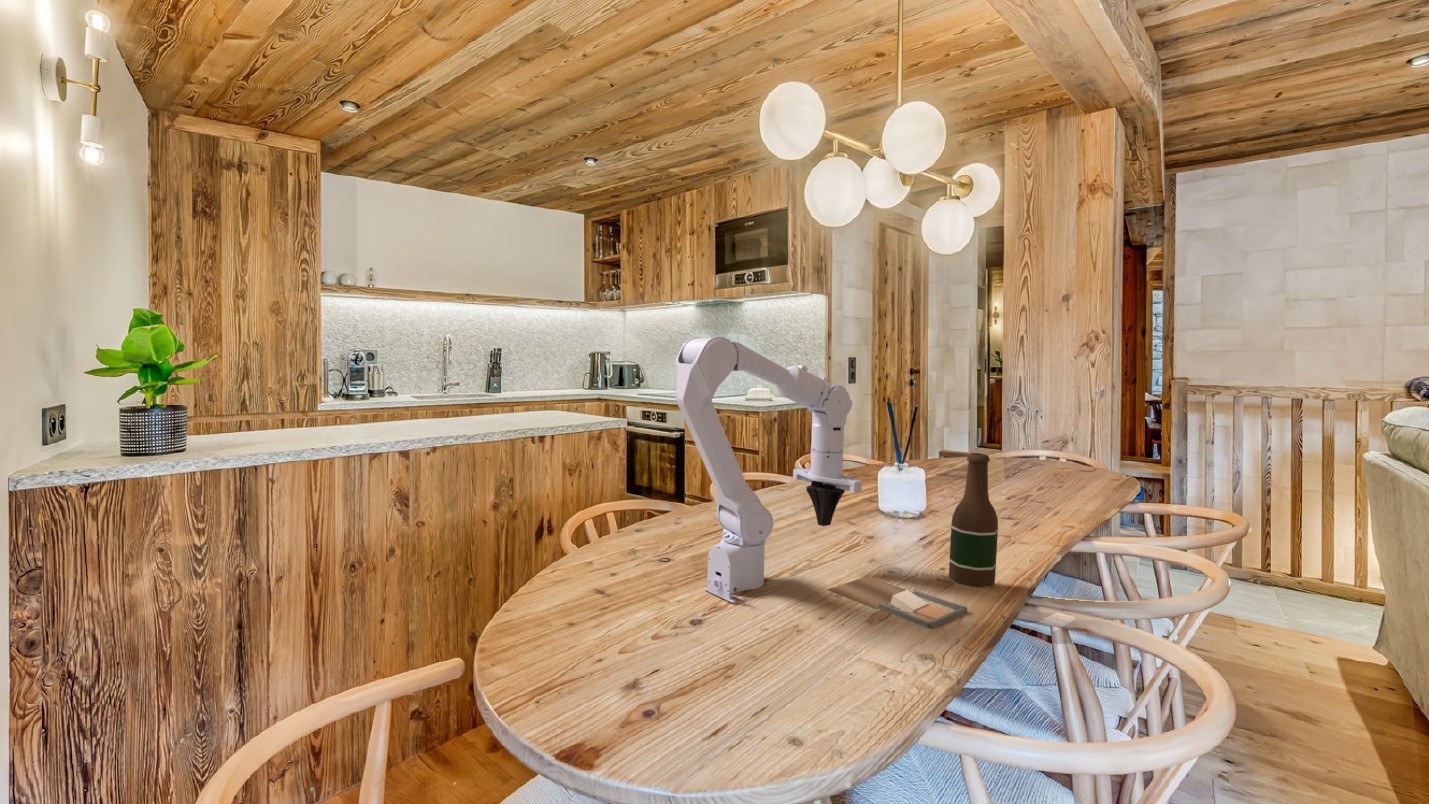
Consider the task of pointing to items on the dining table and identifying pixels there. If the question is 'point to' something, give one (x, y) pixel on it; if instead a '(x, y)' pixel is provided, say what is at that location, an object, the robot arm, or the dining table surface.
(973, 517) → the beer bottle
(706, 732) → the dining table surface
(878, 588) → the walnut board
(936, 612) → the terracotta tile
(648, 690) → the dining table surface
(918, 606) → the offwhite tile
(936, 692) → the dining table surface
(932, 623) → the tray
